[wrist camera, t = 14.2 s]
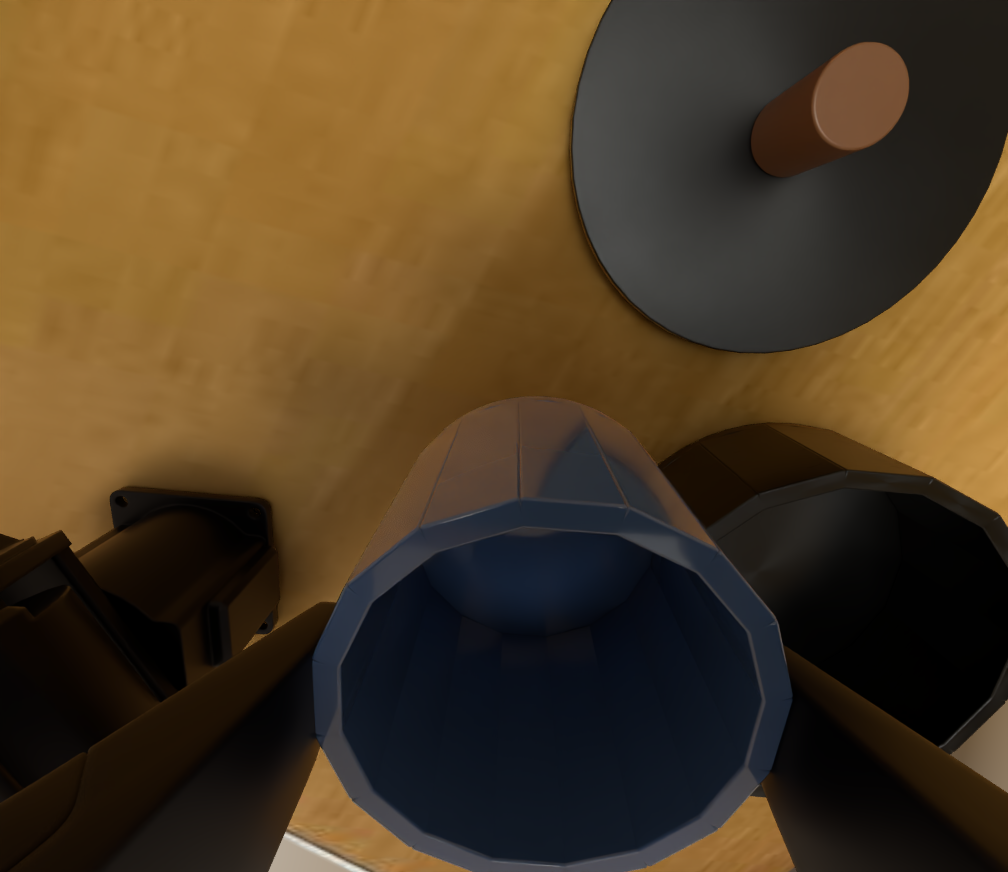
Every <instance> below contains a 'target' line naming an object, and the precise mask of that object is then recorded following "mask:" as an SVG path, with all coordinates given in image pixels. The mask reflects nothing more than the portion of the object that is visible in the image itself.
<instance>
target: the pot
mask: <svg viewBox="0 0 1008 872" xmlns="http://www.w3.org/2000/svg"><path fill="white" fill-rule="evenodd" d="M659 466H660V468H661V469H662V470H663V471H664V473H665V474H666V475H667V477H668V478H669V479H670V480H671V482H672V483H673V484H674V486H675V487H676V488H677V489H678V491H679V492H680V493H681V495H682V496H683V497H684V498H685V500H686V501H687V502H688V504H689V505H690V506H691V508H692V509H693V510H694V511H695V513H696V514H697V515H698V517H699V518H700V519H701V520H702V522H703V523H704V524H705V526H706V527H707V528H708V529H709V531H710V532H711V533H712V535H713V536H714V537H715V538H716V540H717V541H718V542H719V544H720V545H721V546H722V547H723V549H724V550H725V551H726V553H727V554H728V555H729V556H730V558H731V559H732V560H733V562H734V563H735V564H736V566H737V567H738V568H739V569H740V571H741V572H742V573H743V575H744V576H745V577H746V578H747V580H748V581H749V582H750V584H751V585H752V586H753V587H754V589H755V590H756V591H757V593H758V594H759V595H760V596H761V598H762V599H763V600H764V602H765V603H766V604H767V605H768V607H769V608H770V609H771V611H772V612H773V613H774V614H775V616H776V619H777V621H778V623H779V628H780V633H781V638H782V643H783V645H785V646H786V647H788V648H789V649H791V650H792V651H794V652H795V653H797V654H798V655H800V656H801V657H803V658H804V659H806V660H807V661H809V662H810V663H812V664H813V665H815V666H816V667H818V668H819V669H821V670H822V671H824V672H825V673H827V674H828V675H830V676H831V677H833V678H835V679H836V680H838V681H839V682H841V683H842V684H844V685H845V686H847V687H848V688H850V689H851V690H853V691H854V692H856V693H857V694H859V695H860V696H862V697H863V698H865V699H866V700H868V701H869V702H871V703H872V704H874V705H875V706H877V707H878V708H880V709H881V710H883V711H884V712H886V713H887V714H889V715H890V716H892V717H893V718H895V719H897V720H898V721H900V722H901V723H903V724H904V725H906V726H907V727H909V728H910V729H912V730H913V731H915V732H916V733H918V734H919V735H921V736H922V737H924V738H925V739H927V740H928V741H930V742H931V743H933V744H934V745H936V746H937V747H939V748H940V749H942V750H943V751H945V752H946V753H948V754H949V755H950V754H952V752H954V751H956V750H957V749H958V748H959V747H960V746H961V745H962V744H963V743H964V742H965V741H966V740H967V739H968V738H969V737H970V736H971V735H973V734H974V733H975V732H976V731H977V730H978V729H979V728H980V727H981V726H982V725H983V724H984V723H985V722H986V721H987V720H988V719H989V718H990V717H991V716H992V715H993V714H994V713H995V712H996V711H997V710H998V709H999V708H1000V707H1002V706H1003V705H1004V704H1005V701H1007V700H1008V527H1007V526H1006V524H1005V522H1004V521H1003V519H1002V517H1001V516H1000V515H999V514H998V513H997V512H995V511H993V510H992V509H990V508H988V507H986V506H984V505H983V504H981V503H979V502H977V501H975V500H973V499H972V498H970V497H968V496H966V495H964V494H963V493H961V492H959V491H957V490H955V489H954V488H952V487H950V486H948V485H946V484H945V483H943V482H941V481H939V480H937V479H936V478H934V477H932V476H929V475H927V474H925V473H923V472H921V471H919V470H916V469H914V468H912V467H910V466H908V465H906V464H903V463H901V462H899V461H897V460H895V459H892V458H890V457H888V456H886V455H884V454H882V453H879V452H877V451H875V450H873V449H871V448H869V447H866V446H864V445H862V444H860V443H858V442H856V441H853V440H851V439H849V438H847V437H845V436H842V435H840V434H838V433H836V432H834V431H831V430H827V429H818V428H814V427H811V426H804V425H798V424H791V423H763V424H753V425H746V426H741V427H737V428H732V429H728V430H724V431H721V432H719V433H716V434H713V435H710V436H707V437H705V438H703V439H700V440H698V441H696V442H694V443H692V444H690V445H688V446H686V447H685V448H683V449H681V450H680V451H678V452H677V453H675V454H674V455H672V456H670V457H669V458H667V459H666V460H665V461H664V462H663V463H661V464H660V465H659ZM750 796H755V797H766V795H765V792H764V790H763V787H762V784H760V785H759V786H758V787H757V788H756V789H755V790H754V792H753V793H752V794H751V795H750Z"/></svg>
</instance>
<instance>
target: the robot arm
mask: <svg viewBox="0 0 1008 872" xmlns="http://www.w3.org/2000/svg"><path fill="white" fill-rule="evenodd" d="M123 497H125V498H126V499H127V501H128V503H127V502H126V501H124V499H123ZM110 506H111V512H112V518H113V525H114V529H113V530H111V531H109V532H108V533H106V534H105V535H103V536H101V537H100V538H98V539H96V540H95V541H93V542H91V543H90V544H88V545H87V546H85V547H83V548H82V549H80V550H78V551H77V552H75V553H73V551H72V550H71V549H70V547H69V546H70V545H71V544H72V543H71V542H70V541H69V539H68V538H67V537H66V535H65V534H64V533H63V531H62V530H59V531H57V532H55V533H52V534H50V535H48V536H46V537H43V538H41V539H39V540H36V539H35V538H34V537H30V538H28V539H25V540H24V539H22V540H18V539H15V538H12V537H9V536H6V535H3V534H0V872H268V871H269V869H270V866H271V864H272V862H273V859H274V857H275V855H276V852H277V850H278V848H279V845H280V843H281V841H282V838H283V836H284V834H285V831H286V829H287V827H288V824H289V822H290V820H291V818H292V815H293V813H294V811H295V808H296V806H297V804H298V801H299V799H300V797H301V794H302V792H303V790H304V787H305V785H306V783H307V780H308V778H309V776H310V773H311V771H312V768H313V766H314V763H315V761H316V758H317V755H318V752H319V749H320V745H319V743H318V741H317V739H316V733H315V715H314V694H313V673H312V661H313V660H312V655H313V652H314V650H315V648H316V645H317V643H318V641H319V639H320V637H321V635H322V633H323V631H324V628H325V626H326V624H327V622H328V620H329V618H330V616H331V614H332V611H333V609H334V607H335V605H336V603H335V602H320V603H318V604H316V605H314V606H313V607H311V608H310V609H308V610H306V611H305V612H303V613H302V614H300V615H299V616H297V617H295V618H294V619H292V620H291V621H289V622H287V623H286V624H284V625H283V626H281V627H280V628H278V629H276V630H275V631H273V632H272V633H270V632H271V631H272V629H273V628H274V627H275V625H276V624H277V606H276V605H277V603H278V602H279V600H280V587H279V568H278V552H277V550H276V549H275V547H273V535H272V517H271V508H270V505H269V504H268V502H266V501H265V500H263V499H260V498H251V497H240V496H228V495H216V494H205V493H193V492H182V491H170V490H158V489H147V488H135V487H122V488H121V489H119V490H117V491H115V492H113V493H112V494H111V496H110ZM253 508H257V509H258V510H260V513H261V514H260V515H259V514H256V513H255V512H254V509H253ZM264 621H265V622H267V624H265V623H263V622H264ZM268 633H270V634H269V635H267V636H265V637H264V638H262V639H261V640H259V641H257V642H256V643H254V644H253V645H251V646H250V647H248V648H246V649H245V650H243V649H244V648H245V647H246V645H247V644H248V642H249V641H250V640H251V638H252V637H253V636H254V634H268ZM783 648H784V653H785V658H786V663H787V667H788V672H789V677H790V682H791V687H792V692H793V698H792V699H793V703H792V706H791V709H790V712H789V716H788V719H787V722H786V725H785V729H784V732H783V735H782V738H781V742H780V745H779V748H778V752H777V755H776V758H775V761H774V765H773V768H772V770H770V773H769V775H768V776H767V777H766V778H765V779H764V780H763V781H762V783H761V784H762V787H763V790H764V792H765V795H766V798H767V801H768V803H769V806H770V808H771V811H772V813H773V816H774V818H775V821H776V823H777V825H778V828H779V830H780V832H781V835H782V837H783V840H784V842H785V844H786V847H787V849H788V852H789V854H790V856H791V859H792V861H793V863H794V866H795V868H796V871H797V872H1008V793H1007V792H1005V791H1004V790H1002V789H1001V788H999V787H998V786H996V785H995V784H993V783H992V782H990V781H989V780H987V779H986V778H984V777H983V776H981V775H980V774H978V773H977V772H975V771H973V770H972V769H971V768H969V767H968V766H966V765H965V764H963V763H961V762H960V761H958V760H957V759H955V758H954V757H952V756H951V755H949V754H948V753H946V752H945V751H943V750H942V749H940V748H939V747H937V746H936V745H934V744H933V743H931V742H930V741H928V740H927V739H925V738H924V737H922V736H921V735H919V734H918V733H916V732H915V731H913V730H912V729H910V728H909V727H907V726H906V725H904V724H903V723H901V722H900V721H898V720H897V719H895V718H893V717H892V716H890V715H889V714H887V713H886V712H884V711H883V710H881V709H880V708H878V707H877V706H875V705H874V704H872V703H871V702H869V701H868V700H866V699H865V698H863V697H862V696H860V695H859V694H857V693H856V692H854V691H853V690H851V689H850V688H848V687H847V686H845V685H844V684H842V683H841V682H839V681H838V680H836V679H835V678H833V677H831V676H830V675H828V674H827V673H825V672H824V671H822V670H821V669H819V668H818V667H816V666H815V665H813V664H812V663H810V662H809V661H807V660H806V659H804V658H803V657H801V656H800V655H798V654H797V653H795V652H794V651H792V650H791V649H789V648H788V647H786V646H785V645H783Z"/></svg>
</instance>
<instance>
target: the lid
mask: <svg viewBox="0 0 1008 872" xmlns="http://www.w3.org/2000/svg"><path fill="white" fill-rule="evenodd" d="M1007 133H1008V0H611V2H610V3H609V5H608V7H607V9H606V11H605V13H604V14H603V16H602V18H601V20H600V22H599V25H598V27H597V29H596V32H595V34H594V37H593V39H592V42H591V44H590V47H589V49H588V51H587V54H586V58H585V61H584V65H583V68H582V72H581V75H580V79H579V82H578V86H577V89H576V95H575V101H574V107H573V113H572V119H571V133H570V167H571V182H572V187H573V193H574V198H575V203H576V208H577V212H578V215H579V219H580V222H581V225H582V228H583V231H584V234H585V237H586V239H587V241H588V243H589V245H590V248H591V250H592V252H593V254H594V256H595V258H596V260H597V262H598V264H599V265H600V267H601V268H602V270H603V271H604V273H605V274H606V276H607V277H608V279H609V280H610V282H611V283H612V284H613V286H614V287H615V288H616V289H617V290H618V291H619V293H620V294H621V295H622V296H623V297H624V298H625V300H626V301H627V302H628V303H630V304H631V305H632V306H633V307H634V308H635V309H636V310H638V311H639V312H640V313H641V314H642V315H643V316H644V317H646V318H647V319H649V320H650V321H652V322H653V323H655V324H656V325H658V326H659V327H661V328H662V329H664V330H666V331H668V332H670V333H672V334H674V335H676V336H678V337H681V338H683V339H685V340H687V341H690V342H693V343H696V344H700V345H703V346H706V347H710V348H713V349H718V350H724V351H730V352H737V353H773V352H782V351H791V350H795V349H799V348H804V347H808V346H812V345H816V344H819V343H822V342H824V341H827V340H830V339H833V338H835V337H838V336H841V335H843V334H845V333H847V332H849V331H851V330H853V329H855V328H857V327H859V326H861V325H863V324H865V323H867V322H869V321H870V320H872V319H873V318H875V317H876V316H878V315H880V314H881V313H883V312H884V311H886V310H887V309H889V308H890V307H892V306H893V305H894V304H896V303H897V302H898V301H899V300H901V299H902V298H903V297H904V296H906V295H907V294H908V293H909V292H910V291H912V290H913V289H914V288H915V287H916V286H917V285H918V284H919V283H920V282H921V281H922V280H923V279H924V278H925V277H926V276H927V275H928V274H929V273H930V272H931V271H932V270H933V269H934V268H935V267H936V266H937V265H938V264H939V263H940V262H941V260H942V259H943V258H944V257H945V255H946V254H947V253H948V252H949V251H950V249H951V248H952V247H953V246H954V244H955V243H956V242H957V240H958V239H959V237H960V236H961V234H962V233H963V231H964V230H965V228H966V227H967V225H968V224H969V222H970V221H971V219H972V218H973V216H974V215H975V213H976V211H977V209H978V207H979V205H980V203H981V201H982V199H983V197H984V195H985V194H986V192H987V190H988V188H989V186H990V183H991V181H992V178H993V176H994V173H995V171H996V168H997V165H998V163H999V160H1000V158H1001V155H1002V152H1003V148H1004V144H1005V141H1006V137H1007Z"/></svg>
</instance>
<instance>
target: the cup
mask: <svg viewBox="0 0 1008 872" xmlns="http://www.w3.org/2000/svg"><path fill="white" fill-rule="evenodd" d="M312 660H313V661H312V673H313V694H314V715H315V733H316V739H317V741H318V743H319V745H320V746H321V748H322V750H323V752H324V753H325V755H326V757H327V759H328V761H329V762H330V764H331V766H332V768H333V770H334V771H335V773H336V775H337V777H338V779H339V780H340V782H341V784H342V786H343V788H344V789H345V791H346V793H347V795H348V797H349V798H350V799H352V801H353V803H355V804H356V805H357V806H358V807H360V808H361V809H362V810H363V811H365V812H366V813H367V814H368V815H370V816H371V817H372V818H373V819H375V820H376V821H377V822H378V823H379V824H381V825H382V826H383V827H384V828H386V829H387V830H388V831H389V832H391V833H392V834H393V835H394V836H396V837H397V838H398V839H399V840H401V841H402V842H403V843H404V844H405V845H407V846H408V847H412V849H413V850H416V851H419V852H421V853H424V854H426V855H429V856H432V857H434V858H437V859H440V860H442V861H445V862H448V863H450V864H453V865H456V866H458V867H461V868H463V869H466V870H469V871H471V872H628V871H634V870H639V869H644V868H646V867H647V866H652V865H654V864H656V863H658V862H660V861H662V860H664V859H665V858H667V857H669V856H671V855H673V854H675V853H677V852H679V851H680V850H682V849H684V848H686V847H688V846H690V845H692V844H694V843H695V842H697V841H699V840H701V839H703V838H705V837H707V836H709V835H710V834H712V833H714V832H716V831H717V830H718V828H721V827H722V826H723V825H724V824H725V823H726V822H727V821H728V820H729V818H730V817H731V816H732V815H733V814H734V813H735V812H736V811H737V809H738V808H739V807H740V806H741V805H742V804H743V803H744V802H745V801H746V799H747V798H748V797H749V796H750V795H751V794H752V793H753V792H754V790H755V789H756V788H757V787H758V786H759V785H760V784H761V783H762V781H763V780H764V779H765V778H766V777H767V776H768V775H769V773H770V770H772V768H773V765H774V761H775V758H776V755H777V752H778V748H779V745H780V742H781V738H782V735H783V732H784V729H785V725H786V722H787V719H788V716H789V712H790V709H791V706H792V703H793V699H792V698H793V692H792V687H791V682H790V677H789V672H788V667H787V663H786V658H785V653H784V648H783V643H782V638H781V633H780V628H779V623H778V621H777V619H776V616H775V614H774V613H773V612H772V611H771V609H770V608H769V607H768V605H767V604H766V603H765V602H764V600H763V599H762V598H761V596H760V595H759V594H758V593H757V591H756V590H755V589H754V587H753V586H752V585H751V584H750V582H749V581H748V580H747V578H746V577H745V576H744V575H743V573H742V572H741V571H740V569H739V568H738V567H737V566H736V564H735V563H734V562H733V560H732V559H731V558H730V556H729V555H728V554H727V553H726V551H725V550H724V549H723V547H722V546H721V545H720V544H719V542H718V541H717V540H716V538H715V537H714V536H713V535H712V533H711V532H710V531H709V529H708V528H707V527H706V526H705V524H704V523H703V522H702V520H701V519H700V518H699V517H698V515H697V514H696V513H695V511H694V510H693V509H692V508H691V506H690V505H689V504H688V502H687V501H686V500H685V498H684V497H683V496H682V495H681V493H680V492H679V491H678V489H677V488H676V487H675V486H674V484H673V483H672V482H671V480H670V479H669V478H668V477H667V475H666V474H665V473H664V471H663V470H662V469H661V468H660V466H659V465H658V464H657V463H656V462H655V460H654V459H653V458H652V457H651V456H650V454H649V453H648V452H647V451H646V449H645V448H644V447H643V446H642V444H641V443H640V442H639V441H638V440H637V439H636V437H635V436H634V435H633V434H632V432H631V431H629V430H628V429H627V428H625V427H623V426H622V425H621V424H619V423H618V422H617V421H616V420H614V419H612V418H611V417H609V416H607V415H606V414H604V413H602V412H601V411H598V410H596V409H594V408H591V407H589V406H587V405H584V404H581V403H578V402H574V401H570V400H567V399H561V398H554V397H547V396H526V397H517V398H509V399H505V400H501V401H497V402H493V403H490V404H487V405H485V406H482V407H480V408H477V409H474V410H473V411H471V412H469V413H467V414H465V415H464V416H462V417H460V418H458V419H457V420H456V421H454V422H453V423H452V424H450V425H449V426H447V427H446V428H445V429H444V430H443V431H442V432H441V433H440V434H439V435H437V436H436V437H435V438H434V439H433V440H432V442H431V443H430V444H429V445H428V447H427V448H425V449H424V450H423V451H422V452H421V454H420V455H419V456H418V458H417V460H416V462H415V463H414V465H413V467H412V469H411V470H410V472H409V474H408V476H407V477H406V479H405V481H404V483H403V484H402V486H401V488H400V490H399V492H398V493H397V495H396V497H395V499H394V500H393V502H392V504H391V506H390V507H389V509H388V511H387V513H386V514H385V516H384V518H383V520H382V521H381V523H380V525H379V527H378V528H377V530H376V532H375V534H374V535H373V537H372V539H371V541H370V542H369V544H368V546H367V548H366V549H365V551H364V553H363V555H362V556H361V558H360V560H359V562H358V563H357V565H356V567H355V569H354V570H353V572H352V574H351V576H350V577H349V579H348V581H347V583H346V584H345V586H344V588H343V590H342V592H341V595H340V597H339V599H338V601H337V603H336V605H335V607H334V609H333V611H332V614H331V616H330V618H329V620H328V622H327V624H326V626H325V628H324V631H323V633H322V635H321V637H320V639H319V641H318V643H317V645H316V648H315V650H314V652H313V655H312Z"/></svg>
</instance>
